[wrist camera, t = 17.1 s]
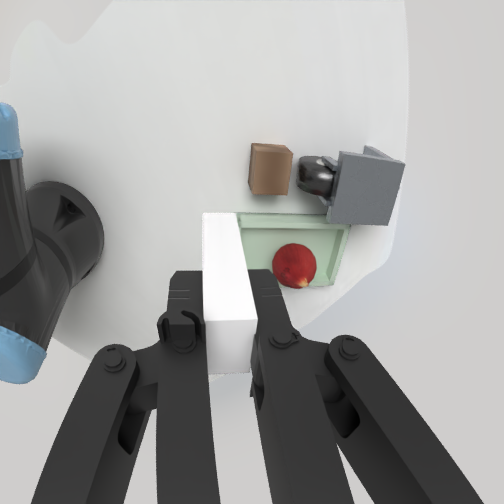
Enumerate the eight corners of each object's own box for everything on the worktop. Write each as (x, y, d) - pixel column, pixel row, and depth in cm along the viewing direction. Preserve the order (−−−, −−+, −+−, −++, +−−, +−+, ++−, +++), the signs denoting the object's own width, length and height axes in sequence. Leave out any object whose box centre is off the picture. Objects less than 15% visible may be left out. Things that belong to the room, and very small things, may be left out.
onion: (279, 273, 44) (292, 311, 38) (259, 247, 41) (270, 284, 35) (313, 252, 43) (332, 288, 36) (296, 224, 40) (314, 259, 33)
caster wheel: (287, 194, 38) (304, 222, 32) (296, 134, 34) (317, 150, 27) (361, 199, 40) (387, 225, 34) (374, 145, 35) (405, 164, 29)
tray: (229, 277, 44) (230, 288, 42) (233, 212, 38) (235, 221, 36) (327, 275, 47) (333, 285, 45) (344, 215, 41) (351, 224, 39)
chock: (248, 181, 36) (252, 194, 33) (251, 142, 34) (256, 151, 30) (279, 183, 37) (287, 195, 34) (284, 145, 34) (293, 153, 31)
